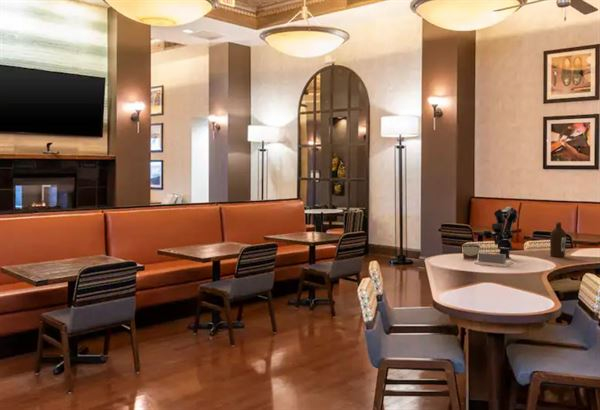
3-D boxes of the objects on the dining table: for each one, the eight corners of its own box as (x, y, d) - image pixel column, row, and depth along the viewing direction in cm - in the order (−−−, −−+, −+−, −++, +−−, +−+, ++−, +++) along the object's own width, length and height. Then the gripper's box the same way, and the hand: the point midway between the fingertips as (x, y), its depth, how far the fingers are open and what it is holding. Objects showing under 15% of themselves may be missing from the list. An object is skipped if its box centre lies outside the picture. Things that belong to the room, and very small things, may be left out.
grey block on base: (482, 260, 386) (482, 249, 386) (512, 262, 375) (513, 252, 375) (474, 263, 371) (474, 253, 370) (505, 266, 360) (506, 255, 359)
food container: (477, 257, 396) (478, 243, 395) (479, 259, 390) (480, 245, 389) (459, 257, 397) (460, 243, 397) (461, 258, 391) (461, 244, 390)
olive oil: (546, 256, 407) (548, 222, 405) (552, 255, 414) (554, 221, 413) (561, 258, 399) (563, 223, 398) (567, 256, 407) (569, 222, 405)
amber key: (489, 256, 372) (489, 252, 372) (496, 257, 370) (496, 253, 369) (487, 257, 368) (487, 253, 368) (494, 258, 366) (494, 253, 366)
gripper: (483, 219, 385) (478, 237, 377) (510, 218, 373) (505, 237, 365) (488, 228, 391) (483, 247, 383) (515, 228, 379) (511, 247, 371)
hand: (495, 244), depth 376 cm, fingers closed
